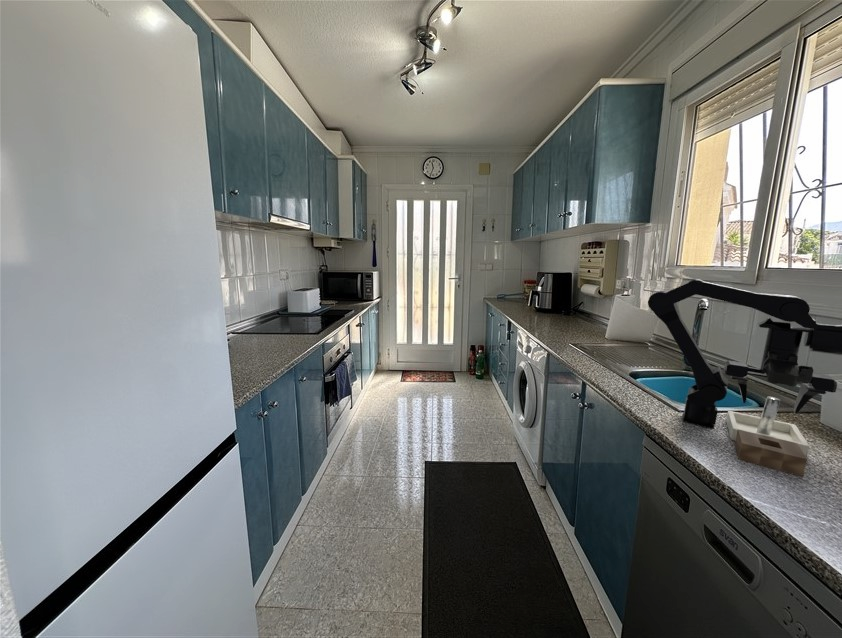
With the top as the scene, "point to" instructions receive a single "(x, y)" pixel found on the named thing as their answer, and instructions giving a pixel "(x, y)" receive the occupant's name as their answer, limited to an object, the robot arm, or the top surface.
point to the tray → (777, 431)
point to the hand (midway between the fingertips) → (768, 407)
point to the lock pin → (768, 415)
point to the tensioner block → (770, 452)
